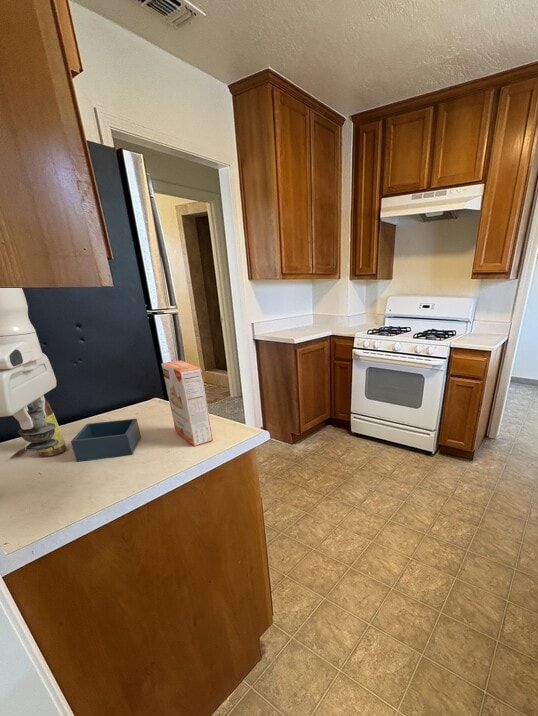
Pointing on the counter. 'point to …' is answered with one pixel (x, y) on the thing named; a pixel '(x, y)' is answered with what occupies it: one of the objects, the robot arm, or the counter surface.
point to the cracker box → (188, 401)
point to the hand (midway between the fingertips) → (34, 423)
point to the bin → (106, 440)
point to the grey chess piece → (38, 430)
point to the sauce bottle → (57, 435)
